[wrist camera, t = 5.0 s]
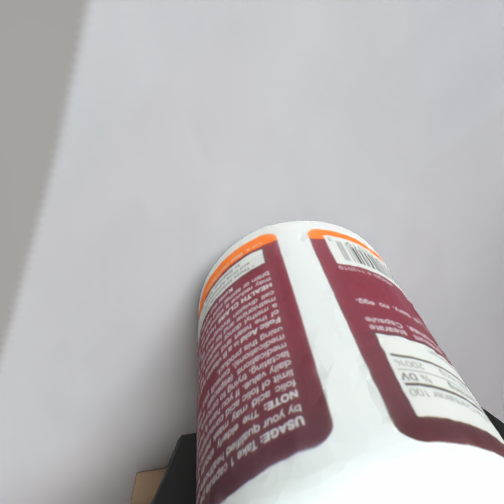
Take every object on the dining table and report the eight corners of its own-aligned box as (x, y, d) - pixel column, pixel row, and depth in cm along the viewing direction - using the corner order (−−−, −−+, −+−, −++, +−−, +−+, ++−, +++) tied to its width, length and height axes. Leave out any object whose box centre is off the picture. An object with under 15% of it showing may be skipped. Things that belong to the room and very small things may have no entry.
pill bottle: (219, 384, 13) (238, 921, 5) (177, 236, 10) (107, 846, 3) (389, 353, 13) (639, 851, 5) (387, 196, 10) (842, 717, 3)
